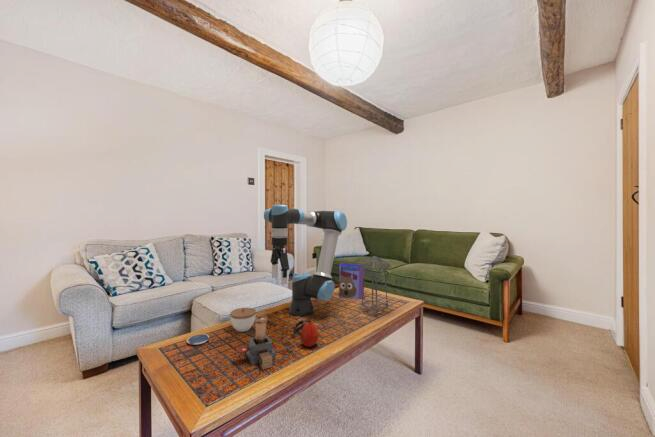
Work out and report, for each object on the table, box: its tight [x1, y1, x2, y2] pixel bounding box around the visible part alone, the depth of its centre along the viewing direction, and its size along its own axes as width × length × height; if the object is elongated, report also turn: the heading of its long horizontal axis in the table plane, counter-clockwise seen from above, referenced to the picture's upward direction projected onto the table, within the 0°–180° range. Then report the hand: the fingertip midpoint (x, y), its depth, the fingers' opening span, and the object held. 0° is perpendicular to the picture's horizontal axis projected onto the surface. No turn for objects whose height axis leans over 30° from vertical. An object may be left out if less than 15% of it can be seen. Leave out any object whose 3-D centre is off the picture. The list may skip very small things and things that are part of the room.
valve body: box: [236, 334, 277, 371], centre depth 118 cm, size 20×15×7 cm
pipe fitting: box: [254, 314, 268, 345], centre depth 119 cm, size 5×5×14 cm
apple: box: [300, 322, 320, 348], centre depth 130 cm, size 8×8×11 cm
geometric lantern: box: [358, 255, 392, 316], centre depth 172 cm, size 16×16×35 cm
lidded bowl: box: [229, 307, 257, 333], centre depth 145 cm, size 13×13×11 cm
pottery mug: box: [292, 319, 313, 335], centre depth 141 cm, size 12×10×8 cm
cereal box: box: [338, 263, 365, 300], centre depth 200 cm, size 17×5×24 cm, turn 81°
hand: (279, 280), depth 134 cm, fingers open, 13 cm apart
